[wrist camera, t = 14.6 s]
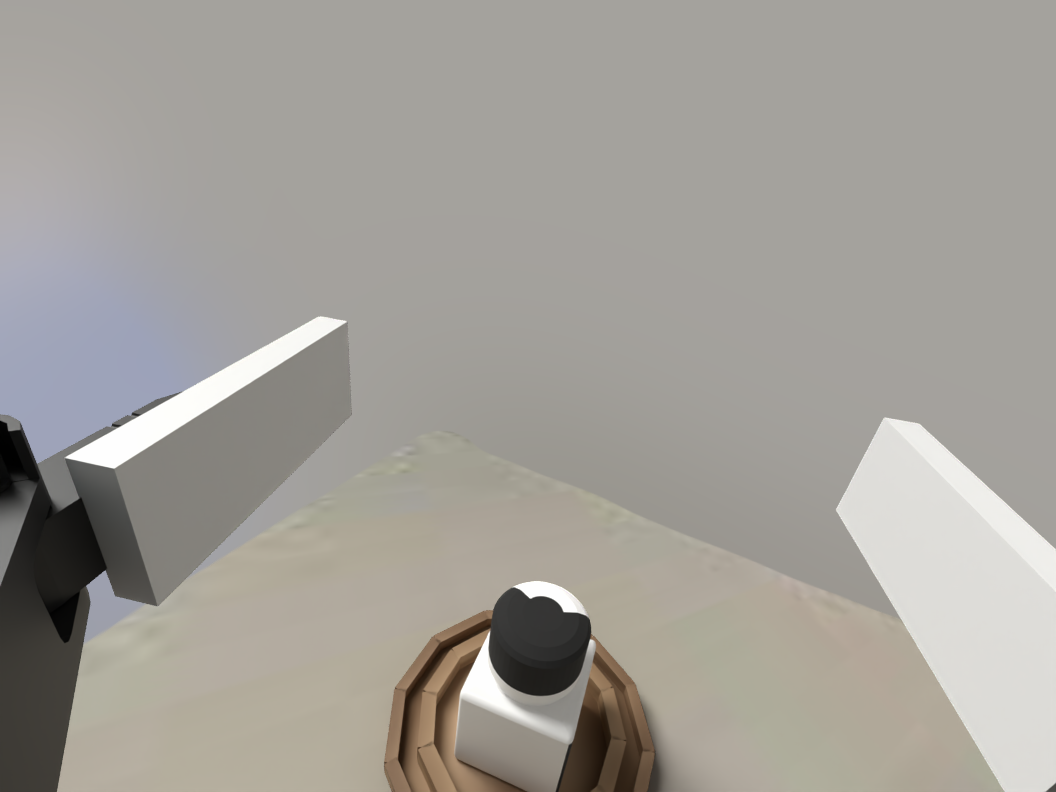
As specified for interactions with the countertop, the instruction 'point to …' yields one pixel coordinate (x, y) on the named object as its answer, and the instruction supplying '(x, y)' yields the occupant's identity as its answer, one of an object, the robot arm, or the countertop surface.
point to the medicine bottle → (527, 688)
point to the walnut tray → (432, 712)
